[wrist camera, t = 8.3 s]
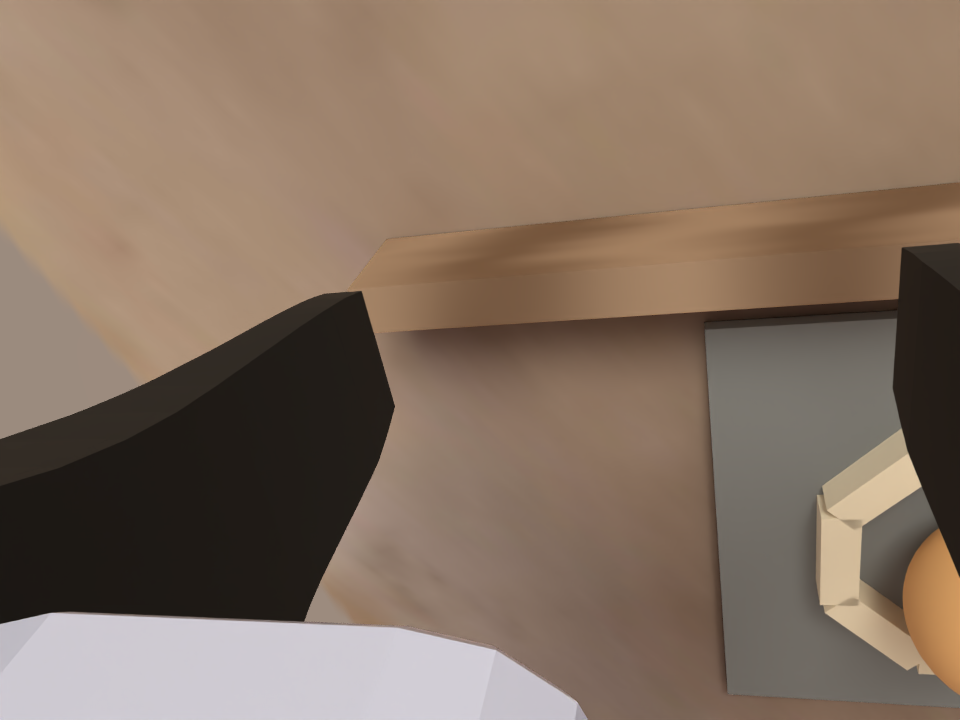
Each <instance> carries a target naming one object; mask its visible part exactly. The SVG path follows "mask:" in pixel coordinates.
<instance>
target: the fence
mask: <svg viewBox="0 0 960 720" xmlns="http://www.w3.org/2000/svg"><path fill="white" fill-rule="evenodd" d="M949 243H960V183H950V184H940V185H930V186H920V187H909V188H899V189H889V190H879V191H869V192H859V193H849V194H839V195H828V196H818V197H808V198H798V199H788V200H778V201H768V202H758V203H747V204H737V205H727V206H717V207H707V208H697V209H687V210H677V211H666V212H656V213H646V214H636V215H626V216H616V217H606V218H596V219H585V220H575V221H565V222H555V223H545V224H535V225H525V226H515V227H504V228H494V229H484V230H474V231H464V232H454V233H444V234H434V235H423V236H413V237H403V238H393V239H386V241H385V242H384V243H383V244H382V246H381V247H380V248H379V250H378V251H377V252H376V254H375V255H374V256H373V257H372V259H371V260H370V261H369V263H368V264H367V265H366V266H365V268H364V269H363V270H362V272H361V273H360V274H359V275H358V277H357V278H356V279H355V281H354V282H353V283H352V284H351V286H350V287H349V288H348V292H354V291H362V293H363V297H364V300H365V304H366V307H367V311H368V314H369V318H370V321H371V325H372V328H373V332H374V333H382V332H397V331H412V330H428V329H443V328H459V327H474V326H490V325H505V324H520V323H536V322H551V321H567V320H582V319H598V318H613V317H628V316H644V315H659V314H675V313H690V312H706V311H721V310H736V309H752V308H767V307H783V306H798V305H814V304H829V303H844V302H860V301H875V300H891V299H898V296H899V281H900V266H901V250H902V247H912V246H924V245H937V244H949Z"/></svg>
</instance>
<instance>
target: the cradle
mask: <svg viewBox="0 0 960 720" xmlns="http://www.w3.org/2000/svg"><path fill="white" fill-rule="evenodd" d="M897 311H898V310H896V311H879V312H863V313H847V314H830V315H814V316H798V317H782V318H765V319H749V320H733V321H716V322H704V323H705V344H706V359H707V375H708V391H709V407H710V422H711V438H712V454H713V470H714V485H715V501H716V517H717V533H718V548H719V564H720V580H721V596H722V611H723V627H724V643H725V659H726V675H727V690H728V694H734V695H751V696H767V697H784V698H801V699H817V700H834V701H851V702H868V703H884V704H901V705H918V706H934V707H951V708H960V695H958V694H957V693H956V692H954V691H953V690H952V689H950V688H949V687H948V686H947V685H946V684H945V683H944V682H943V681H941V680H940V679H939V678H938V677H937V676H936V675H935V674H934V673H933V671H932V670H931V669H930V668H929V666H928V665H927V664H926V663H925V661H924V660H923V659H922V657H921V656H920V654H919V652H918V650H917V649H916V647H915V645H914V643H913V641H912V639H911V636H910V634H909V631H908V628H907V625H906V621H905V616H904V611H903V586H904V580H905V575H906V572H907V569H908V566H909V564H910V562H911V560H912V558H913V556H914V554H915V552H916V551H917V550H918V548H919V547H920V546H921V544H922V543H923V542H924V541H925V540H926V539H927V538H928V537H929V536H930V535H931V534H932V533H933V532H934V531H935V530H937V529H938V528H939V527H938V525H937V522H936V520H935V518H934V515H933V513H932V510H931V508H930V506H929V503H928V501H927V498H926V496H925V494H924V491H923V489H922V486H921V484H920V481H919V479H918V476H917V474H916V471H915V469H914V467H913V464H912V461H911V459H910V456H909V454H908V451H907V447H906V443H905V439H904V435H903V431H902V427H901V423H900V419H899V415H898V410H897V406H896V401H895V397H894V392H893V373H894V357H895V342H896V327H897Z"/></svg>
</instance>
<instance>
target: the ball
mask: <svg viewBox="0 0 960 720" xmlns="http://www.w3.org/2000/svg"><path fill="white" fill-rule="evenodd" d="M903 611H904V616H905V621H906V625H907V628H908V631H909V634H910V636H911V639H912V641H913V643H914V645H915V647H916V649H917V650H918V652H919V654H920V656H921V657H922V659H923V660H924V661H925V663H926V664H927V665H928V666H929V668H930V669H931V670H932V671H933V673H934V674H935V675H936V676H937V677H938V678H939V679H940V680H941V681H943V682H944V683H945V684H946V685H947V686H948V687H949V688H950V689H952V690H953V691H954V692H956V693H957V694H958V695H960V577H959V575H958V573H957V570H956V568H955V566H954V563H953V561H952V558H951V556H950V554H949V551H948V549H947V546H946V544H945V542H944V539H943V537H942V534H941V532H940V530H939V528H938V529H937V530H935V531H934V532H933V533H932V534H931V535H930V536H929V537H928V538H927V539H926V540H925V541H924V542H923V543H922V544H921V546H920V547H919V548H918V550H917V551H916V552H915V554H914V556H913V558H912V560H911V562H910V564H909V566H908V569H907V572H906V575H905V580H904V586H903Z"/></svg>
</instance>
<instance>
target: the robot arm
mask: <svg viewBox="0 0 960 720" xmlns="http://www.w3.org/2000/svg"><path fill="white" fill-rule="evenodd" d="M893 392H894V397H895V401H896V406H897V410H898V415H899V419H900V423H901V427H902V431H903V435H904V439H905V443H906V447H907V451H908V454H909V456H910V459H911V461H912V464H913V467H914V469H915V471H916V474H917V476H918V479H919V481H920V484H921V486H922V489H923V491H924V494H925V496H926V498H927V501H928V503H929V506H930V508H931V510H932V513H933V515H934V518H935V520H936V522H937V525H938V527H939V530H940V532H941V534H942V537H943V539H944V542H945V544H946V546H947V549H948V551H949V554H950V556H951V558H952V561H953V563H954V566H955V568H956V570H957V573H958V575H959V577H960V243H949V244H937V245H924V246H912V247H902V250H901V266H900V281H899V296H898V311H897V327H896V342H895V357H894V373H893ZM394 408H395V405H394V402H393V398H392V395H391V391H390V388H389V384H388V381H387V377H386V374H385V370H384V367H383V363H382V360H381V356H380V353H379V349H378V346H377V342H376V339H375V335H374V332H373V328H372V325H371V321H370V318H369V314H368V311H367V307H366V304H365V300H364V297H363V293H362V291H354V292H341V293H329V294H322V295H319V296H316V297H313V298H311V299H308V300H306V301H304V302H301V303H299V304H297V305H295V306H293V307H291V308H289V309H287V310H285V311H283V312H281V313H279V314H277V315H275V316H273V317H272V318H270V319H268V320H266V321H264V322H262V323H260V324H259V325H257V326H255V327H253V328H251V329H249V330H248V331H246V332H244V333H242V334H240V335H238V336H237V337H235V338H233V339H231V340H229V341H227V342H226V343H224V344H222V345H220V346H218V347H216V348H215V349H213V350H211V351H209V352H207V353H205V354H203V355H201V356H199V357H197V358H195V359H193V360H191V361H189V362H187V363H185V364H183V365H182V366H180V367H178V368H176V369H174V370H172V371H170V372H168V373H166V374H164V375H162V376H160V377H158V378H156V379H154V380H152V381H150V382H148V383H146V384H143V385H141V386H139V387H137V388H135V389H133V390H130V391H128V392H126V393H124V394H122V395H119V396H117V397H114V398H112V399H109V400H107V401H105V402H102V403H100V404H97V405H95V406H92V407H90V408H88V409H85V410H83V411H80V412H77V413H75V414H72V415H70V416H67V417H64V418H61V419H58V420H55V421H52V422H49V423H46V424H43V425H40V426H38V427H35V428H32V429H29V430H26V431H23V432H20V433H17V434H14V435H11V436H9V437H6V438H3V439H0V720H588V719H587V717H586V716H585V714H584V712H583V711H582V709H581V707H580V706H579V704H578V702H577V701H575V700H574V699H573V698H572V697H571V696H570V695H569V694H567V693H566V692H565V691H564V690H562V689H561V688H559V687H558V686H556V685H554V684H553V683H551V682H550V681H548V680H547V679H545V678H543V677H542V676H540V675H539V674H537V673H536V672H534V671H533V670H531V669H529V668H528V667H526V666H525V665H523V664H522V663H520V662H519V661H517V660H515V659H514V658H512V657H511V656H509V655H508V654H506V653H505V652H503V651H501V650H500V649H498V648H497V647H495V646H493V645H489V644H485V643H480V642H476V641H471V640H467V639H463V638H458V637H454V636H449V635H445V634H441V633H436V632H432V631H427V630H423V629H419V628H414V627H410V626H395V625H372V624H348V623H323V622H304V620H305V618H306V615H307V612H308V609H309V607H310V604H311V602H312V599H313V597H314V595H315V593H316V590H317V588H318V586H319V583H320V581H321V579H322V577H323V575H324V573H325V571H326V569H327V567H328V564H329V562H330V560H331V558H332V556H333V554H334V552H335V550H336V548H337V546H338V544H339V542H340V540H341V538H342V536H343V534H344V532H345V530H346V528H347V526H348V524H349V522H350V520H351V518H352V516H353V514H354V512H355V510H356V508H357V506H358V504H359V502H360V500H361V497H362V495H363V493H364V491H365V489H366V487H367V485H368V483H369V481H370V479H371V477H372V474H373V472H374V470H375V468H376V466H377V464H378V461H379V459H380V455H381V452H382V449H383V446H384V443H385V440H386V437H387V433H388V430H389V426H390V423H391V419H392V415H393V412H394Z"/></svg>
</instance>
